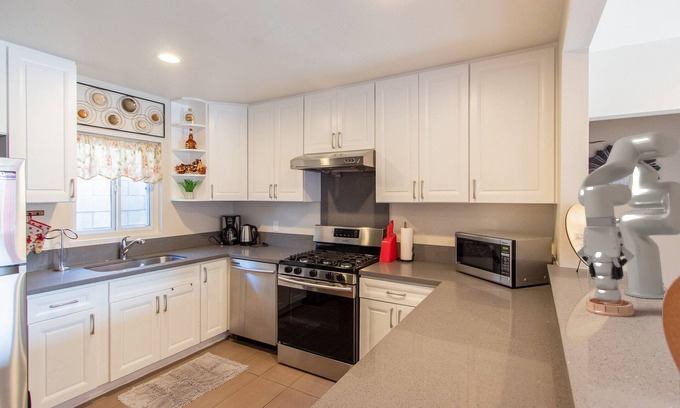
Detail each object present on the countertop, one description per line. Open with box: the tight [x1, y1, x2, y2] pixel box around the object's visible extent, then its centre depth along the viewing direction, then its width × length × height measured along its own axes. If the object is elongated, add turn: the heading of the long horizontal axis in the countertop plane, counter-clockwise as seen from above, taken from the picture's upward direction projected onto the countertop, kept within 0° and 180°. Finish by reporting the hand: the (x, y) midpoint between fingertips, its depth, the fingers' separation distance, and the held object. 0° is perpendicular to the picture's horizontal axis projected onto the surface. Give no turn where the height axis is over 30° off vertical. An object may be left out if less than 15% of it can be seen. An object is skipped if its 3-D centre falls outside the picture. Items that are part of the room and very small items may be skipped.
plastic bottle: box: [591, 252, 623, 304], centre depth 106 cm, size 6×7×20 cm
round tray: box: [585, 296, 635, 318], centre depth 106 cm, size 12×12×3 cm
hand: (606, 277), depth 106 cm, fingers closed on plastic bottle, 5 cm apart
